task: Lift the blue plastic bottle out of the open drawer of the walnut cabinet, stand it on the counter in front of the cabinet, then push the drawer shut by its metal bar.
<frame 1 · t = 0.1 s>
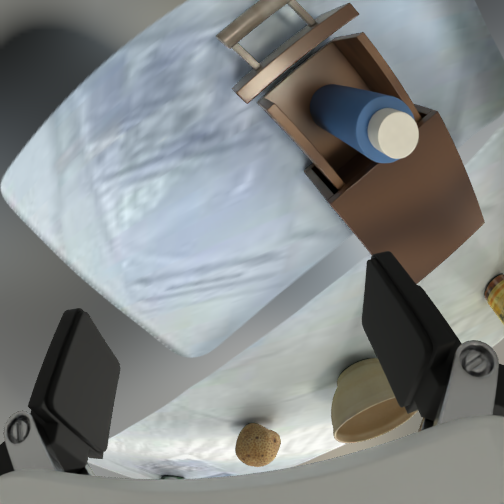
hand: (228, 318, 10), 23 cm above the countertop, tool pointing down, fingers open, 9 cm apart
sauce bottle: (493, 286, 47), on the countertop
coffee jar: (173, 478, 79), on the countertop
potato: (254, 423, 59), on the countertop
planter bowl: (360, 372, 53), on the countertop
drawer: (321, 86, 23), point 4 cm above the countertop, slide at 10.0 cm, touching bottle
cabinet: (383, 180, 33), on the countertop
bottle: (333, 107, 27), point 2 cm above the countertop, touching drawer
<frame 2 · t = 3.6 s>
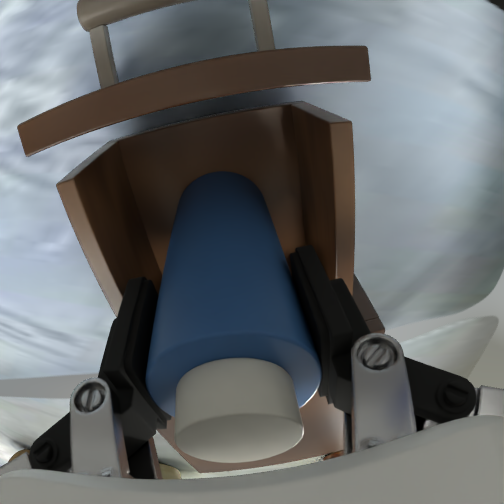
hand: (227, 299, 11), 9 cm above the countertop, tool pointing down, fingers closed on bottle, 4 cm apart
planter bowl: (151, 467, 40), on the countertop
drawer: (209, 175, 13), point 4 cm above the countertop, slide at 10.0 cm, touching bottle
cabinet: (250, 330, 24), on the countertop
bottle: (221, 213, 16), point 2 cm above the countertop, touching drawer, gripper
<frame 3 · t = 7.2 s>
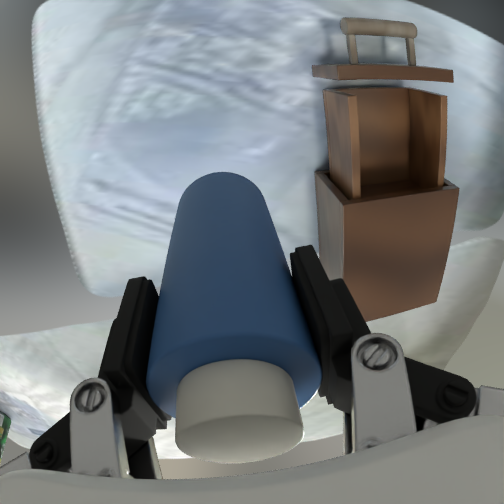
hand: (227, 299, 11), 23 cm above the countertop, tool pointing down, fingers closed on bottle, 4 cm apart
coffee jar: (0, 414, 57), on the countertop
drawer: (385, 112, 25), point 4 cm above the countertop, slide at 10.0 cm
cabinet: (367, 222, 36), on the countertop
bottle: (222, 213, 16), point 16 cm above the countertop, touching gripper
when the fingers open (7 cm above the countertop, at t = 11.1 s): bottle stays where it is, on the countertop.
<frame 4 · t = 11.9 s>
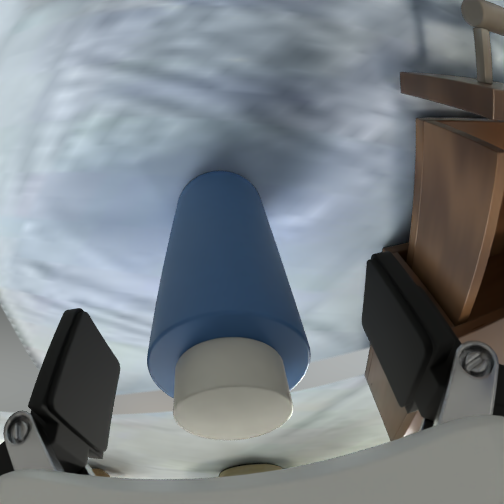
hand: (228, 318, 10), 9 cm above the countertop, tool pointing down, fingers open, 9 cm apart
planter bowl: (250, 471, 40), on the countertop
cabinet: (436, 305, 24), on the countertop
bottle: (219, 210, 17), on the countertop
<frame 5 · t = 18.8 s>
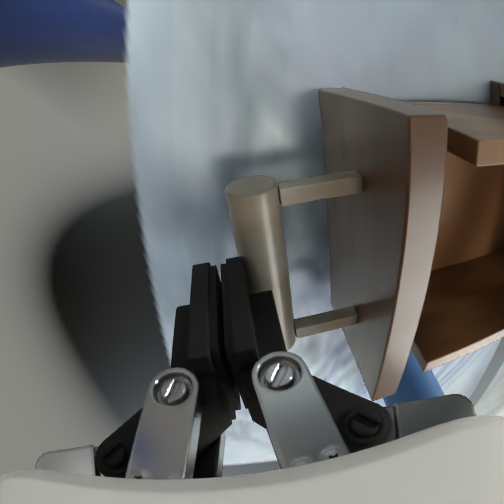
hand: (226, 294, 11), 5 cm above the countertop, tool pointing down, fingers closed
drawer: (448, 230, 12), point 4 cm above the countertop, slide at 10.0 cm, touching gripper
bottle: (397, 364, 24), on the countertop
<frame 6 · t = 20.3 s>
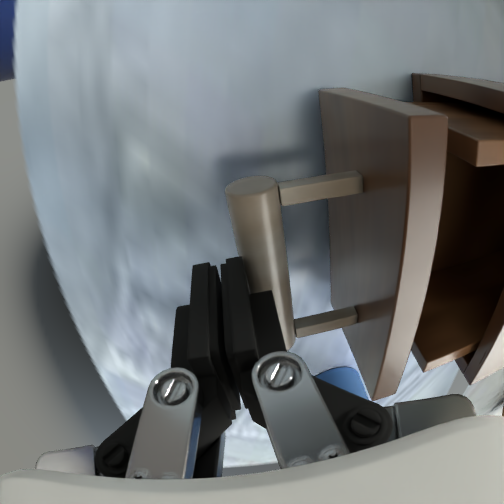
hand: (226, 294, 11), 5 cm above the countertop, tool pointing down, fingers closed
drawer: (448, 230, 12), point 4 cm above the countertop, slide at 4.0 cm, touching gripper
cabinet: (497, 178, 15), on the countertop
bottle: (332, 383, 24), on the countertop
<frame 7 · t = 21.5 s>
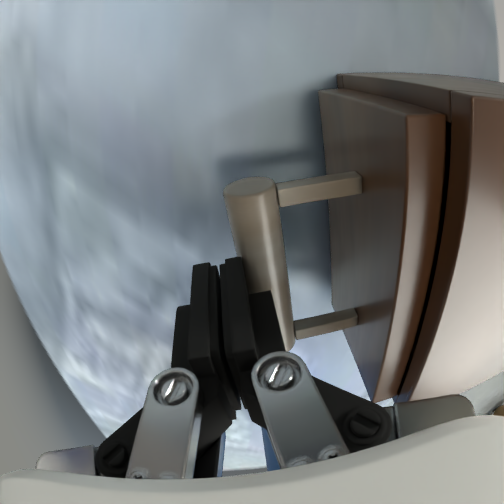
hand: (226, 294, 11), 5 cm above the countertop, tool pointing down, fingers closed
potato: (499, 405, 39), on the countertop
drawer: (449, 231, 12), point 4 cm above the countertop, slide at 0.0 cm, touching cabinet, gripper
cabinet: (457, 184, 15), on the countertop
bottle: (286, 396, 24), on the countertop
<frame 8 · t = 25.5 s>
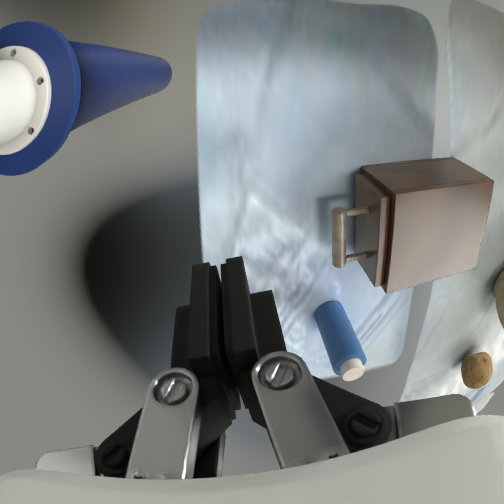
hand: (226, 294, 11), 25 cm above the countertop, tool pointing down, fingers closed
potato: (467, 354, 63), on the countertop
drawer: (399, 224, 35), point 4 cm above the countertop, slide at 0.0 cm, touching cabinet
cabinet: (408, 205, 39), on the countertop
bottle: (328, 312, 47), on the countertop
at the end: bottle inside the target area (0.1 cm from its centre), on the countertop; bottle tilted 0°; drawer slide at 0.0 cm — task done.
